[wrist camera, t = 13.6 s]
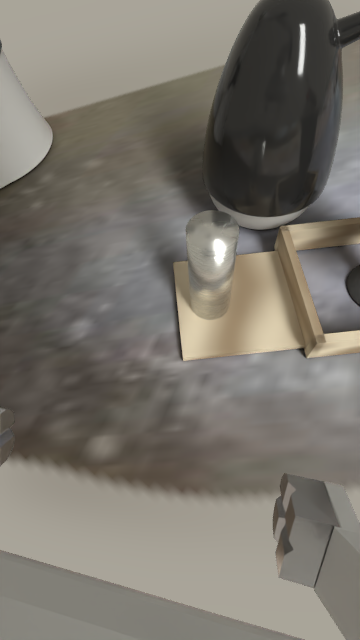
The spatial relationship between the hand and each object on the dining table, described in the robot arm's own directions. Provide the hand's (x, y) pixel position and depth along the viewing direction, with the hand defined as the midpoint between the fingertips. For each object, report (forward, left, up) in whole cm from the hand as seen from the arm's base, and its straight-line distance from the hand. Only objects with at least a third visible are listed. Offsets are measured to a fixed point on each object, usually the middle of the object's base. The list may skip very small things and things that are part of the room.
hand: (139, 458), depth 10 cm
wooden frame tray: (+10, +12, -12) cm, 20 cm away
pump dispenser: (+10, +22, -13) cm, 27 cm away
